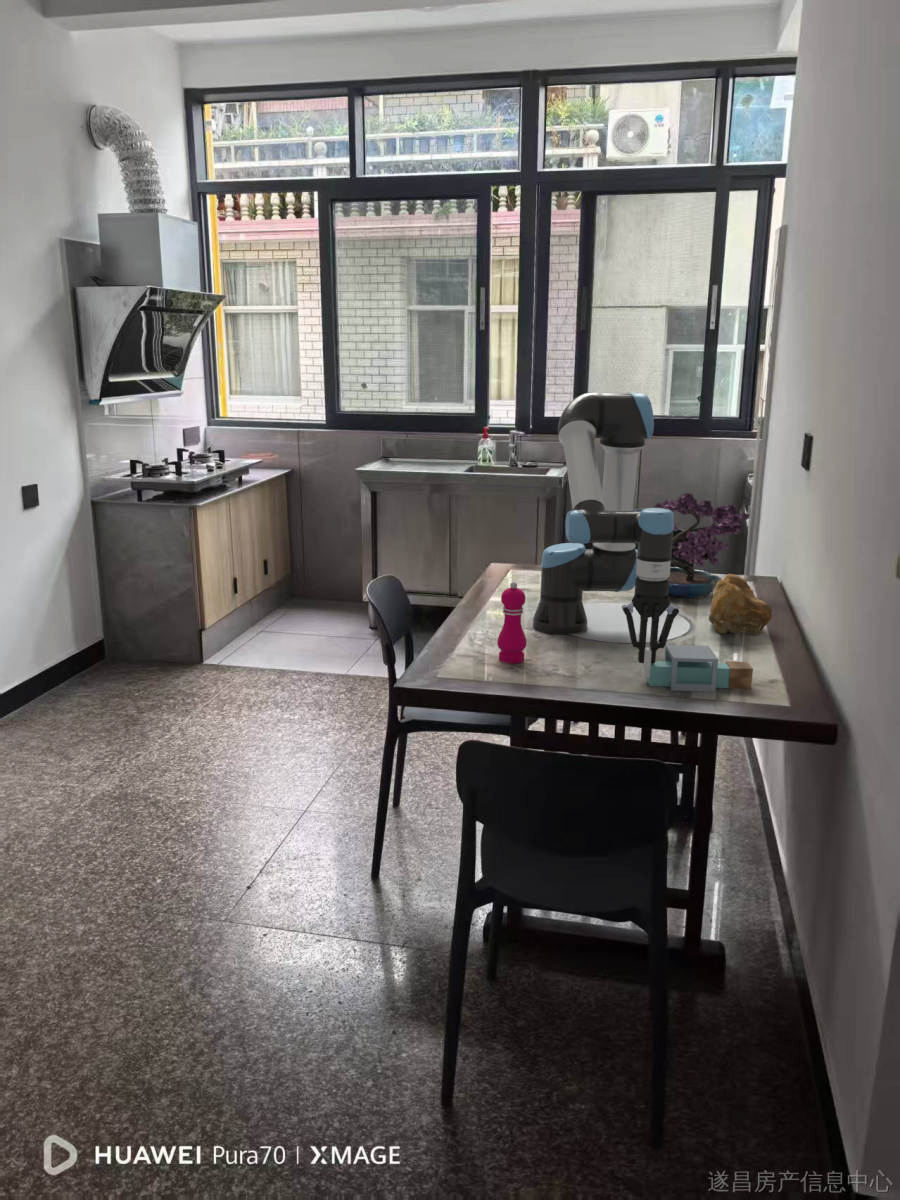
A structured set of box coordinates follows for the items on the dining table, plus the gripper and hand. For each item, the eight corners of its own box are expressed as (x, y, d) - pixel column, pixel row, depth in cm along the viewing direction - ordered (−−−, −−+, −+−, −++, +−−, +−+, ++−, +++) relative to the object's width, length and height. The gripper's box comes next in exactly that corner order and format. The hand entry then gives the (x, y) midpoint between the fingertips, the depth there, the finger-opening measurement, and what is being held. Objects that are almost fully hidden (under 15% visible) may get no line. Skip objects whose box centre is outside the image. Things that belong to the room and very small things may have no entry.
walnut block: (728, 688, 210) (730, 668, 209) (723, 681, 215) (725, 661, 214) (750, 689, 210) (753, 668, 208) (745, 682, 215) (747, 661, 213)
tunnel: (670, 690, 208) (673, 657, 206) (663, 675, 218) (665, 644, 216) (715, 691, 208) (718, 659, 206) (705, 676, 217) (708, 645, 215)
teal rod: (649, 686, 211) (651, 666, 210) (646, 681, 215) (648, 660, 214) (728, 689, 210) (730, 668, 209) (724, 683, 214) (726, 663, 213)
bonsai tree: (634, 600, 286) (641, 497, 278) (630, 580, 312) (636, 485, 304) (750, 605, 282) (760, 500, 273) (735, 584, 308) (744, 488, 299)
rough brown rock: (762, 648, 243) (773, 594, 239) (700, 634, 249) (710, 582, 245) (771, 628, 263) (781, 578, 259) (713, 616, 269) (722, 568, 266)
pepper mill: (530, 663, 226) (533, 584, 221) (502, 665, 224) (504, 586, 219) (519, 654, 232) (522, 577, 227) (492, 656, 230) (494, 579, 225)
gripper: (625, 580, 203) (619, 680, 209) (684, 581, 203) (676, 682, 209) (621, 572, 211) (615, 669, 217) (678, 574, 210) (670, 671, 216)
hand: (645, 675), depth 213 cm, fingers closed
